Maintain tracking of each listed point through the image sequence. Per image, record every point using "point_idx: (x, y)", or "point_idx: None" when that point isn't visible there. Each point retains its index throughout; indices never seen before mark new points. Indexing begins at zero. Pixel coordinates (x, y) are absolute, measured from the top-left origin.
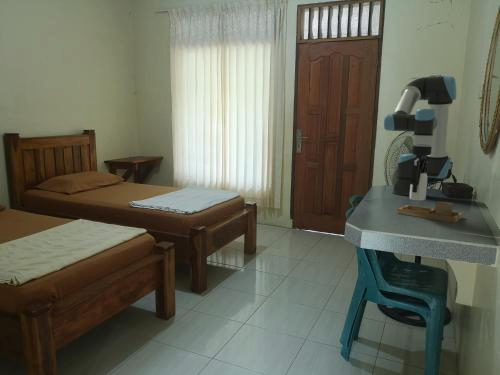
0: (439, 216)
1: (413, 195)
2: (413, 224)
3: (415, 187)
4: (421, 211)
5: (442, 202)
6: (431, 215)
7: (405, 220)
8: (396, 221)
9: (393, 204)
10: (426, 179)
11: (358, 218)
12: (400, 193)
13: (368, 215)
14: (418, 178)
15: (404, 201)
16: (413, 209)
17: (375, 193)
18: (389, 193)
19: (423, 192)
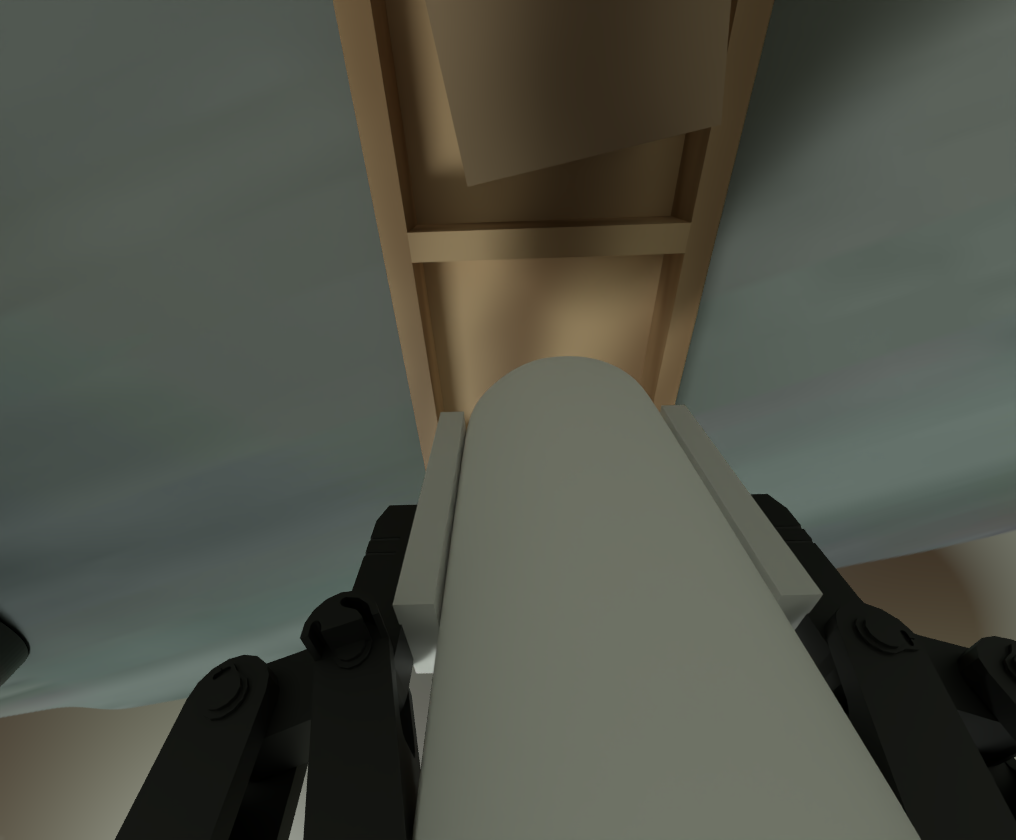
0: (762, 18)
1: None
2: (983, 223)
3: (831, 576)
4: (434, 352)
5: (472, 70)
6: (727, 150)
7: (829, 334)
8: (898, 369)
9: (329, 563)
10: (722, 711)
11: (890, 537)
12: (1, 640)
13: None
14: (1014, 827)
15: (158, 559)
16: None
17: (153, 691)
18: (54, 666)
19: (654, 430)
